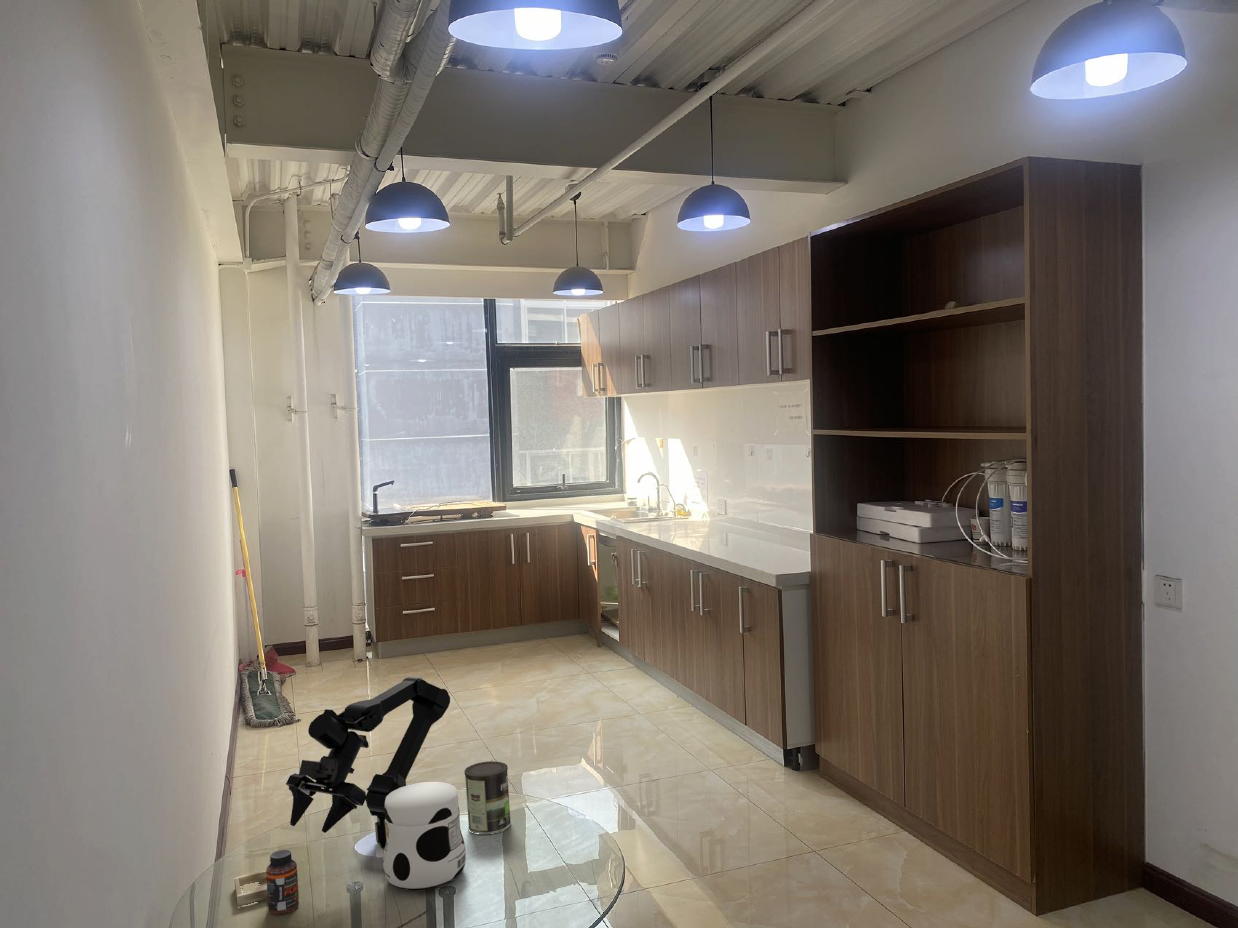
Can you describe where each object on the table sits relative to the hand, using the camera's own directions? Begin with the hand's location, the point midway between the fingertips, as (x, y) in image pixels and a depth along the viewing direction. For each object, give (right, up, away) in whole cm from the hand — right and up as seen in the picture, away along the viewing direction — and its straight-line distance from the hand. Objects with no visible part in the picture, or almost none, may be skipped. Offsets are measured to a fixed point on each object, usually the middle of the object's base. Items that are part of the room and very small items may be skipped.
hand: (307, 828), depth 195 cm
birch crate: (-10, -14, 0) cm, 17 cm away
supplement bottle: (-2, -14, -7) cm, 16 cm away
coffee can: (+34, -11, +28) cm, 45 cm away
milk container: (+24, -12, +3) cm, 27 cm away
